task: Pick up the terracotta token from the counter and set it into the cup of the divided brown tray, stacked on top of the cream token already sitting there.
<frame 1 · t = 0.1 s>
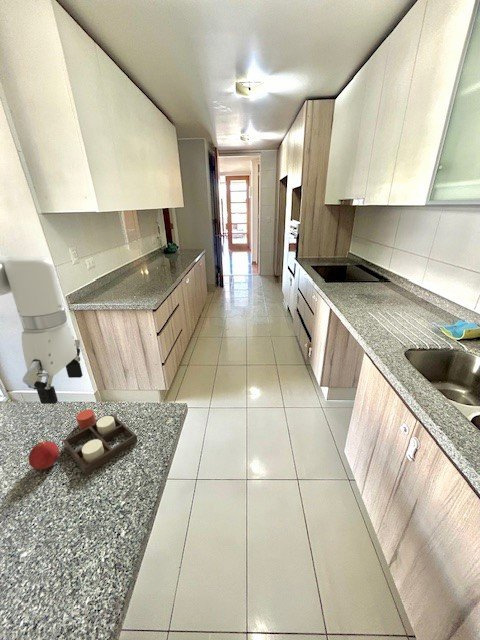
hand: (63, 388, 59), 20 cm above the countertop, tool pointing down, fingers open, 9 cm apart
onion: (48, 467, 63), on the countertop
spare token: (107, 432, 73), point 1 cm above the countertop, touching divided brown tray
divided brown tray: (102, 446, 69), on the countertop
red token: (87, 425, 76), on the countertop
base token: (95, 458, 65), point 1 cm above the countertop, touching divided brown tray
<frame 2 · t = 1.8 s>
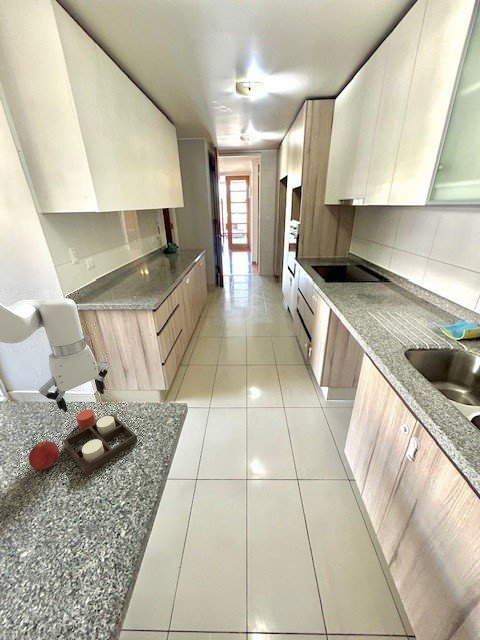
hand: (83, 400, 73), 9 cm above the countertop, tool pointing down, fingers open, 9 cm apart
nothing on the countertop moved.
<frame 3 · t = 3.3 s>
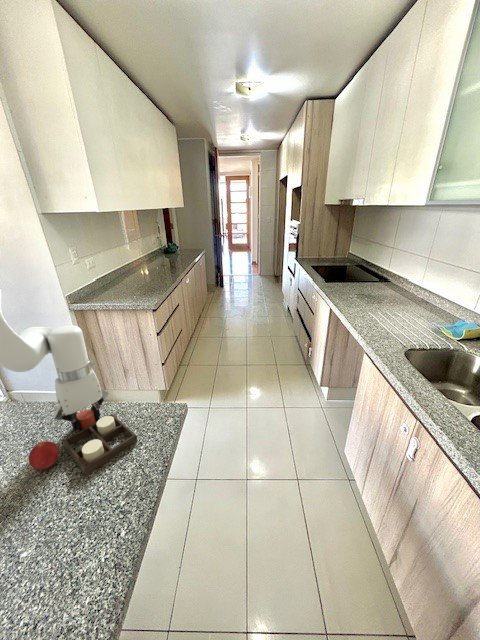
hand: (87, 424, 76), 1 cm above the countertop, tool pointing down, fingers closed on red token, 4 cm apart
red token: (87, 425, 76), on the countertop, touching gripper
everything else where it was.
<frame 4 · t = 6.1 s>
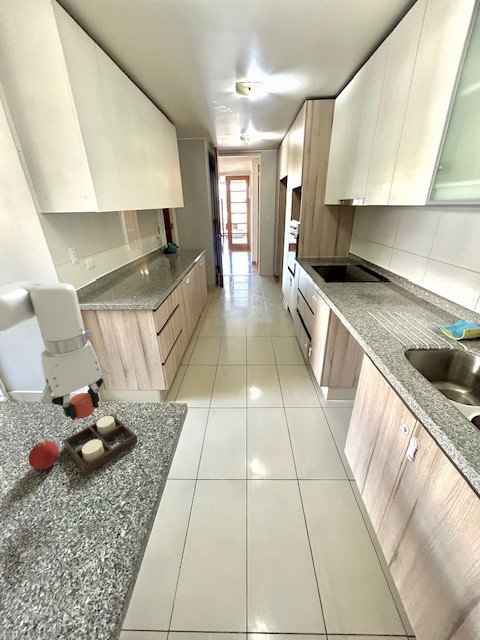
hand: (83, 410, 62), 14 cm above the countertop, tool pointing down, fingers closed on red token, 4 cm apart
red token: (84, 412, 62), point 14 cm above the countertop, touching gripper
everything else where it was.
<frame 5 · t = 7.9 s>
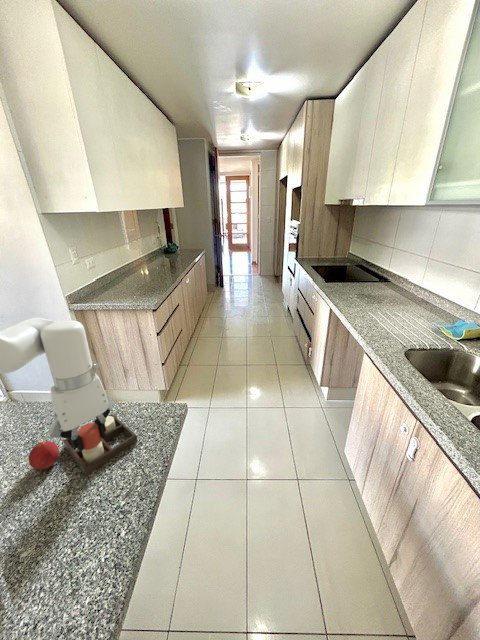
hand: (90, 440, 63), 7 cm above the countertop, tool pointing down, fingers closed on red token, 4 cm apart
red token: (91, 442, 63), point 6 cm above the countertop, touching gripper
everything else where it was.
when the fingers open (5 cm above the countertop, at t = 8.7 s): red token stays where it is, resting on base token.
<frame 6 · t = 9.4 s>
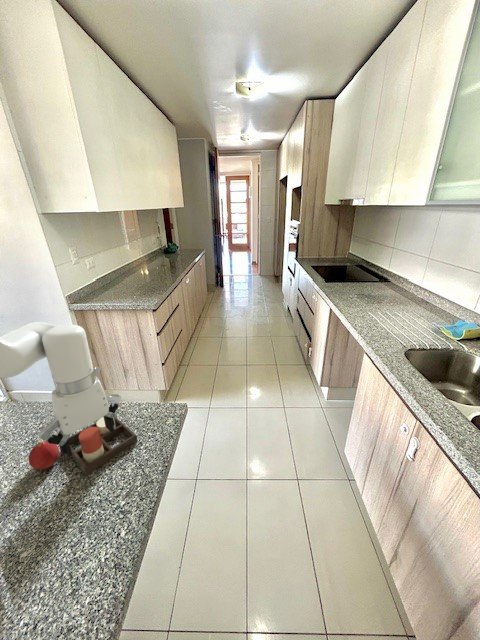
hand: (90, 440, 63), 7 cm above the countertop, tool pointing down, fingers open, 9 cm apart
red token: (92, 446, 63), point 5 cm above the countertop, touching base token
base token: (95, 458, 65), point 1 cm above the countertop, touching divided brown tray, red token
everything else where it was.
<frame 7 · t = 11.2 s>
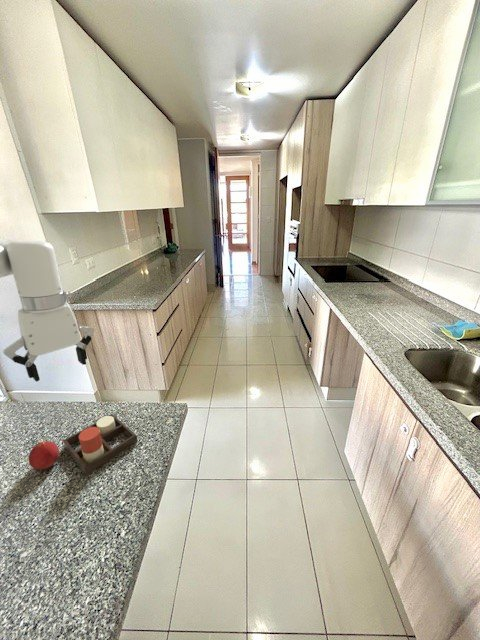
hand: (60, 370, 61), 23 cm above the countertop, tool pointing down, fingers open, 9 cm apart
nothing on the countertop moved.
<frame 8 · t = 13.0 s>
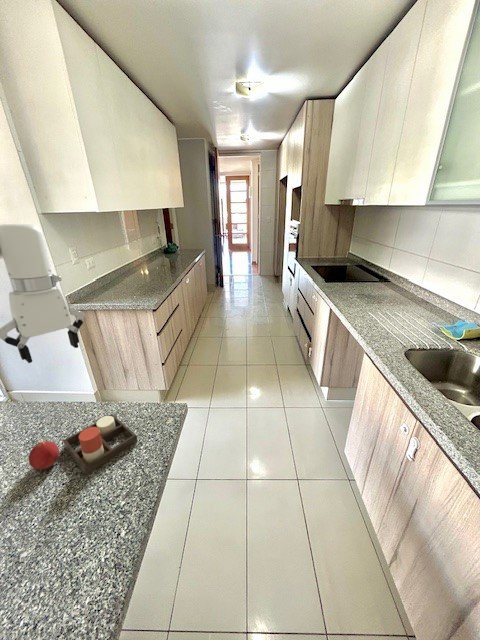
hand: (53, 353, 63), 26 cm above the countertop, tool pointing down, fingers open, 9 cm apart
nothing on the countertop moved.
at the end: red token 0.1 cm from the target spot on the divided brown tray, point 4.8 cm above the divided brown tray's base; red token tilted 0°; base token moved 0.0 cm from its start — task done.
